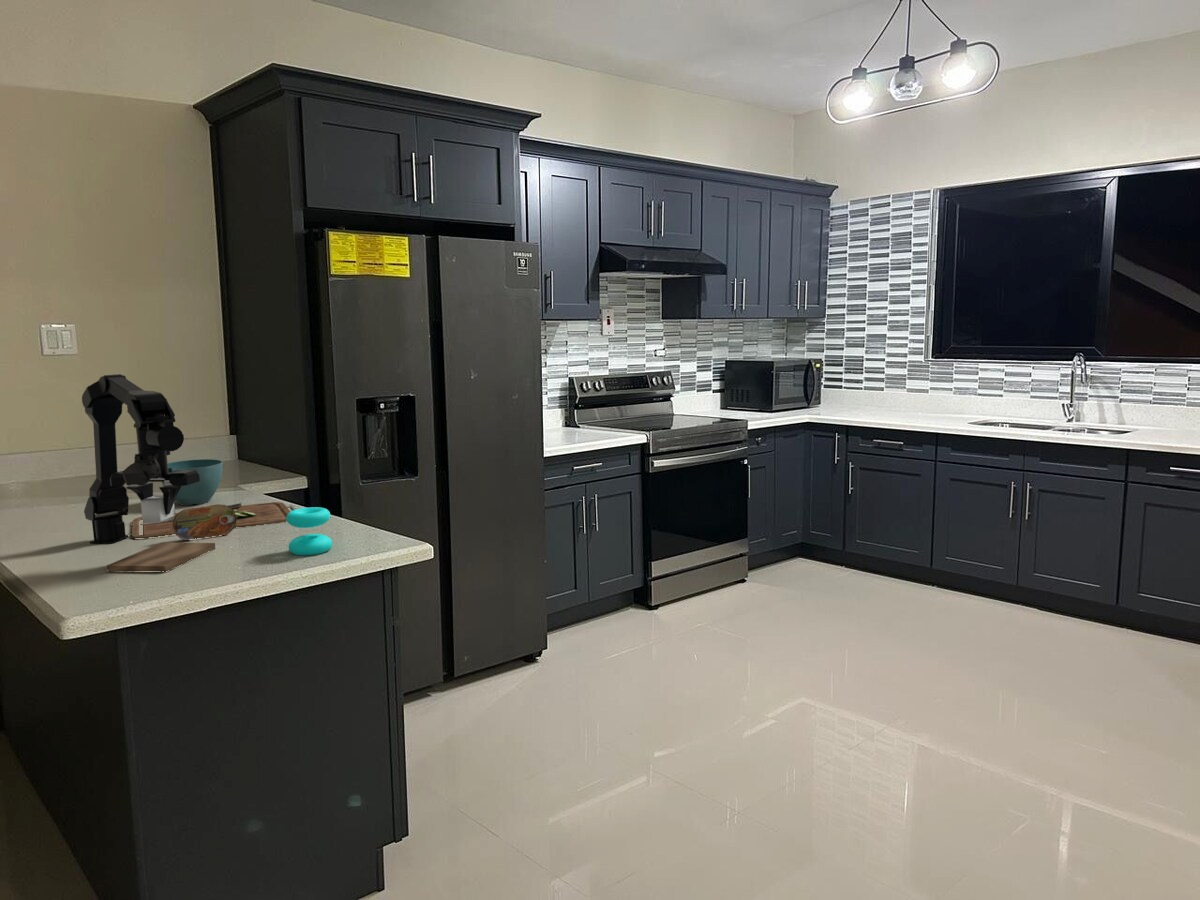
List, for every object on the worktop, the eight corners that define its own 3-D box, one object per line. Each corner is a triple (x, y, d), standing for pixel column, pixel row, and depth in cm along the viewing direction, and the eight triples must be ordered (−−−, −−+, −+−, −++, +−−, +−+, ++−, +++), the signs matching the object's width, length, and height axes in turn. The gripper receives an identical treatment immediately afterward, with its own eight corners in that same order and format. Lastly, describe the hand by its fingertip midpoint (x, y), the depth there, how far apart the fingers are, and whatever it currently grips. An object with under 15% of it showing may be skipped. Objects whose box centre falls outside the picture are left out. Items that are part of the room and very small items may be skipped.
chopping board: (121, 544, 219) (119, 532, 218) (123, 523, 242) (122, 512, 242) (304, 521, 239) (303, 511, 239) (290, 504, 263) (289, 494, 262)
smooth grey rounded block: (138, 523, 195) (136, 501, 194) (163, 514, 204) (160, 493, 203) (155, 523, 195) (153, 501, 194) (178, 514, 203) (176, 493, 203)
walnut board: (107, 571, 192) (106, 565, 192) (161, 548, 211) (161, 542, 211) (165, 572, 190) (165, 566, 190) (215, 548, 210) (214, 542, 210)
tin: (175, 543, 216) (172, 511, 215) (173, 541, 219) (169, 509, 217) (238, 534, 225) (235, 502, 224) (235, 531, 227) (232, 500, 226)
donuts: (330, 504, 211) (329, 513, 201) (333, 544, 212) (332, 554, 203) (287, 508, 208) (284, 516, 198) (290, 548, 209) (287, 558, 200)
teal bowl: (225, 505, 261) (221, 465, 259) (158, 511, 255) (154, 470, 253) (226, 494, 278) (223, 457, 276) (164, 500, 271) (160, 462, 269)
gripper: (90, 453, 190) (97, 522, 192) (168, 453, 188) (175, 522, 190) (123, 446, 201) (130, 511, 203) (198, 445, 199) (204, 511, 201)
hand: (158, 514), depth 199 cm, fingers closed on smooth grey rounded block, 4 cm apart
